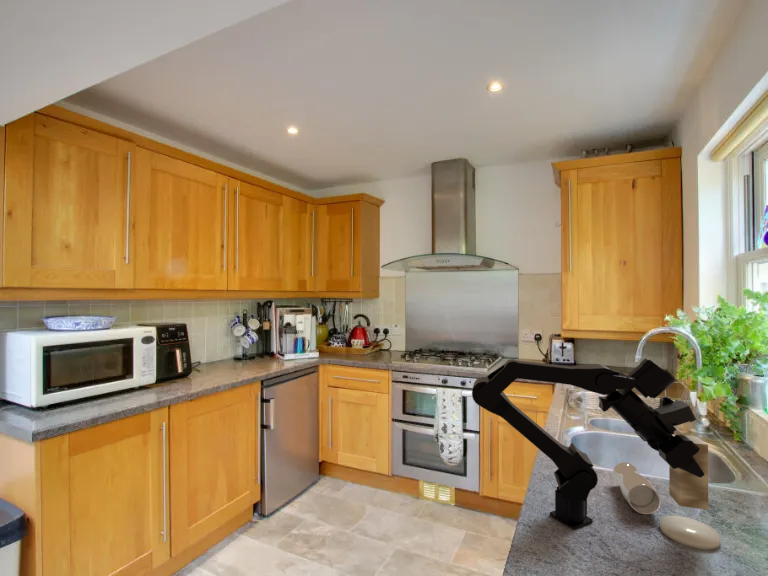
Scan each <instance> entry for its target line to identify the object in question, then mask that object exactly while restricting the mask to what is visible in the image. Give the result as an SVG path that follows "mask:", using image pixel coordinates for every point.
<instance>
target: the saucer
mask: <svg viewBox="0 0 768 576" xmlns="http://www.w3.org/2000/svg"><path fill="white" fill-rule="evenodd" d="M659 528H660V531H661V532H662V533H663V534H664V535H665V536H666V537H668V538H669V539H670V540H673V541H675V542H676V543H679V544H681V545H684V546H687V547H690V548H694V549H698V550H707V551H708V550H716V549H719V548H720V547H721V536H720V534H719V533H718V531H717V530H715V529H714V528H713V527H712V526H710V525H708V524H706V523H703V522H702V521H699V520H696V519H693V518H689V517H686V516H681V515H667V516H666V515H665V516H663V517H661V518H660V520H659Z"/></svg>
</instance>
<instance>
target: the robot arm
mask: <svg viewBox="0 0 768 576" xmlns="http://www.w3.org/2000/svg"><path fill="white" fill-rule="evenodd" d="M517 379H519V380H520V379H521V380H528V381H529V380H530V381H538V382H545V383H554V384H561V385H570V386H573V387H576V388H580V389H581V390H582V389H583V390H585V391H589V392H592V393H595V394H599V395H602V396H598V400H599V401H598V407H599V408H600V409H601V411H603V412H607V411H608V410H609V409H612V410H614V411H615V413H617V414H618V415H619V416H620V417H621V418H622V419H623V420H624V421H625V423H627V424H628V426H630V427H631V428H632V429H633V431H634V434H636V435H637V436H638V437H639V438H640V439H641V440H642V441H643V442H646V443H647V446H648V447H650V448H651V449H653V450H654V451H657V452H658V455H659V457H660V458H661V459H662V460H663V461H664V462H665V463H666V464H667V465H670V466H671V467H672V468H673V469H676V468H680V469H682V470H685V471H687V472H689V473H691V474H693V475H696V476H698V477H702V476H704V473H703V471H702V470H701V468H700V467H699V465H698V464H697V462H696V461H695V459H694V457H693V456H694V455H695V454H696V453H698V452H699V450H700V448H699V447H698V446H697V445H696V444H695V443H694V442H692V441H691V440H690V439H688V438H687V437H686V436H687V435H685V436H684V434H675V432H676V431H677V430H678V429H677V428H676V427H675V426H679V425H680V426H681V425H683V424H686V423H689V422H690V423H693V422H695V421H696V420H697V417H696V416H695V414H694V412H693V409H692V407H691V406H690V405H689V403H687V402H685V401H683V400H678V399H675V400H673V399H671V398H670V397H668V396H662V397H660V398H659V405H658V406H657V407H656V408H653V407H652V406H651V405H648V404H647V403H646V402H645V401H644V399H647V398H650V399H653V400H654V399H656V398H657V397H658V396H660V395H661V394H662V393H664V392H665V391H666V390H667V389H668V388H669V387H671V386H672V385H673V384H675V382H676V379H675V378H674V377H673V376H672V375H671V374H670V373H669V372H668V371H667V370H665V369H663V368H661V367H660V366H659V365H658V364H656V363H654V362H653V361H652V360H651V359H649V358H647V357H646V358H644V359H643V360H641V361H640V363H639V364H638V365H637V366H636V367H635V368H634V369H632V370H631V371H630V372H629V373H627V374H626V373H625V372H622V371H616V370H612V369H611V368H609V367H607V366H606V365H604V364H601V363H585V364H576V365H562V364H561V365H560V364H552V363H551V364H550V363H545V362H544V363H541V362H532V361H525V360H517V359H514V358H512V359H511V358H510V359H508V360H507V361H505V363H503V364H502V365H501V366H499V367H498V368H496V369H494V370H493V371H492V372H490V373H489V374H488V375H486V376H481V377H478V378H477V379H475V381H474V382H473V385H472V391H471V396H472V399H473V402H474V403H475V404H476V405H477V406H479V407H481V408H482V409H484V410H485V411H488V412H489V413H492V414H494V415H496V416H499V417H500V418H502V419H503V420H504V421H505V422H506V423H508V424H509V425H510V426H511V427H512V428H514V429H515V430H516V431H518V432H519V433H520V435H522V436H523V437H524V438H526V439H527V441H528V442H530V443H531V444H532V445H534V446H535V447H536V448H537V449H538V450H539V451H541V452H542V453H543V455H545V456H546V457H547V458H549V459H550V460H551V461H552V462H553V463H554V465H555V466H556V467H557V469H556V470H555V471H554V472H553V475H554V477H555V480H556V484H557V487H556V489H555V490H554V502H555V503H554V507H555V508H554V510H552V511H550V512H549V516H550V517H552V518H553V519H556V520H557V521H559V522H560V523H563V524H564V525H565V526H567V527H569V528H570V529H573V530H575V529H577V528H578V529H579V528H581V527H584V526H586V525H589V524H592V523H593V522H594V520H593V518H591V517H589V516H588V497H589V495H590V492H591V491H592V490H594V489H595V487H596V486H597V485H598V481H599V479H598V478H599V477H598V474H597V471H595V469H594V464H593V462H592V461H591V459H590V458H589V456H588V455H587V453H586V452H583V451H581V450H580V449H579V448H578V447H577V446H576V445H575V444H574V443H573V442H571V443H570V445H569V446H566V445H564V444H562V443H561V442H559V441H558V440H557V439H555V438H554V437H553V436H552V435H551V434H550V433H549V432H547V431H546V430H545V429H544V428H543V427H541V426H540V425H539V424H537V422H535V421H534V420H533V419H532V418H531V417H530V416H529V415H527V414H526V412H525V413H524V412H523V411H522V410H521V409H520V408H519V407H517V406H516V405H515V404H514V403H513V402H512V401H511V400H510V399H509V397H508V396H507V395H506V394H505V392H504V391H505V390H506V389H507V388H508V387H509V386H510V385H511V384H513V382H514V381H516V380H517ZM633 389H634V390H635V391H636V392H637V393H638V394H640V395H641V396H642V397H643V398H644V399H642V398H641V397H640V396H639V395H638V394H637V393H636V392H635V391H634V390H633ZM672 434H674V435H675V436H673V435H672ZM669 439H670V440H669Z"/></svg>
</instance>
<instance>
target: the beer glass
mask: <svg viewBox="0 0 768 576" xmlns="http://www.w3.org/2000/svg"><path fill="white" fill-rule="evenodd" d="M612 475H613V478H614V480H615V481H616V482H617V484H619V489H620V492H621V495H622V496H623V498H624V500H625V501H626V502H627V504H628V505H629V506H630V507H631V508H632V509H633V510H634V511H635V512H637V513H639V514H641V515H647V516H648V515H652V514H654V513H656V512H658V510H659V509H660V507H661V502H662V501H661V497H660V494H659V493H658V492H657V490H656V488H655V487H654V485H653V484H652V483H651V481H649V480H648V479H647V478H646V477H645V476H643V475H641V474H640V472H639V470H638V469H637V467H635V465H633V464H631V463H629V462H618V463H617V464H616V465H615V466H614V467H613V470H612Z"/></svg>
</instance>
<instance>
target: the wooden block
mask: <svg viewBox="0 0 768 576" xmlns="http://www.w3.org/2000/svg"><path fill="white" fill-rule="evenodd" d="M672 435H673V436H675V435H676V434H675V433H674V434H672ZM683 435H684V434H683ZM684 436H686V437H687V438H688V439H690V440H691V441H692V442H694V443H695V444H696V445H697V446H698V447H699V448H700V450H699V452H698V453H696V454H695V455H694V456H693V457H694V459H695V461H696V462H697V464H698V465H699V467H700V468H701V470H702V471H703V473H704V476H702V477H698V476H696V475H693V474H691V473H689V472H687V471H685V470H682V469H680V468H676V469H673V468H672V467H671V466H670V465H669V464H668V465H669V470H668V471H669V477H668V480H669V482H668V484H669V485H668V487H669V494H668V495H669V496H670V497H671V498H672V500H673V501H674V502H675V503H676V504H677V505H678V506H679V507H686V508H693V509H700V510H708V511H709V444H708V443H706V442H705V441H704V440H702V439H701V438H699V437H697V436H694V435H693V436H692V435H686V434H685V435H684ZM669 440H670V439H669Z"/></svg>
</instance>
